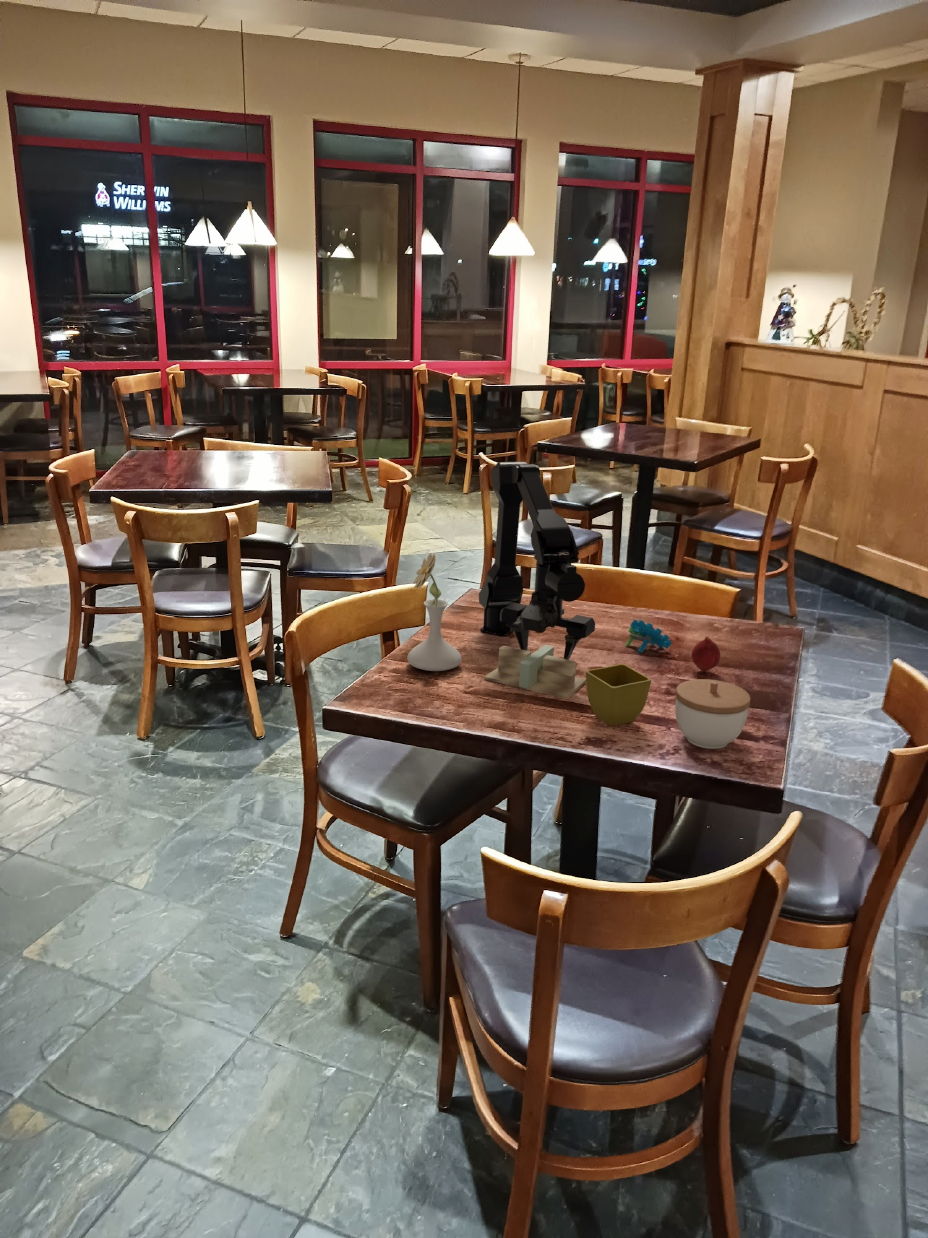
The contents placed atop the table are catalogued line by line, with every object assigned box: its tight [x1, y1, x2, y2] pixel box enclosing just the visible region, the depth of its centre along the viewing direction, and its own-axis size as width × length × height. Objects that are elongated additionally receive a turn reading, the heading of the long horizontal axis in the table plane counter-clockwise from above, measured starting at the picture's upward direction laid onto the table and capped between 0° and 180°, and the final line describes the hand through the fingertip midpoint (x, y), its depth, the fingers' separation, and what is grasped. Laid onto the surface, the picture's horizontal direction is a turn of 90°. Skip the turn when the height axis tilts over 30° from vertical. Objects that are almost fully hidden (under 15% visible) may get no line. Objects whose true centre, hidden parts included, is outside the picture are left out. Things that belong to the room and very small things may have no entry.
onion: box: [690, 634, 721, 673], centre depth 192 cm, size 6×6×8 cm
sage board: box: [518, 644, 555, 690], centre depth 185 cm, size 2×12×5 cm, turn 152°
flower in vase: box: [406, 552, 463, 672], centre depth 187 cm, size 13×11×25 cm
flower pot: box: [585, 663, 652, 727], centre depth 168 cm, size 9×9×9 cm
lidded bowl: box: [674, 678, 752, 750], centre depth 161 cm, size 13×13×11 cm
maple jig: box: [484, 645, 586, 700], centre depth 185 cm, size 18×10×6 cm, turn 61°
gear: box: [625, 619, 673, 654], centre depth 203 cm, size 11×6×10 cm
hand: (544, 659), depth 188 cm, fingers open, 9 cm apart
